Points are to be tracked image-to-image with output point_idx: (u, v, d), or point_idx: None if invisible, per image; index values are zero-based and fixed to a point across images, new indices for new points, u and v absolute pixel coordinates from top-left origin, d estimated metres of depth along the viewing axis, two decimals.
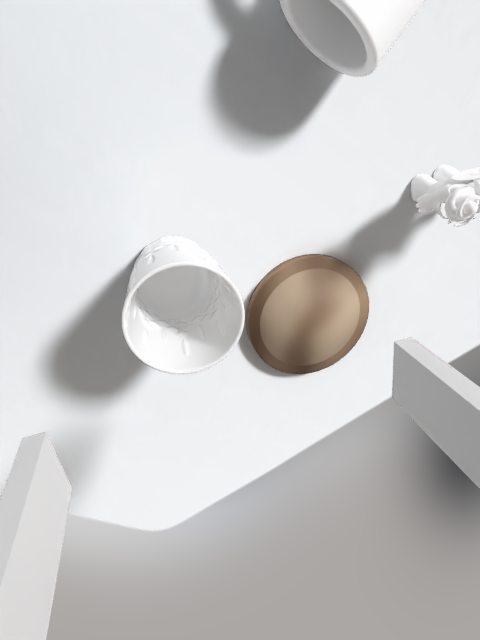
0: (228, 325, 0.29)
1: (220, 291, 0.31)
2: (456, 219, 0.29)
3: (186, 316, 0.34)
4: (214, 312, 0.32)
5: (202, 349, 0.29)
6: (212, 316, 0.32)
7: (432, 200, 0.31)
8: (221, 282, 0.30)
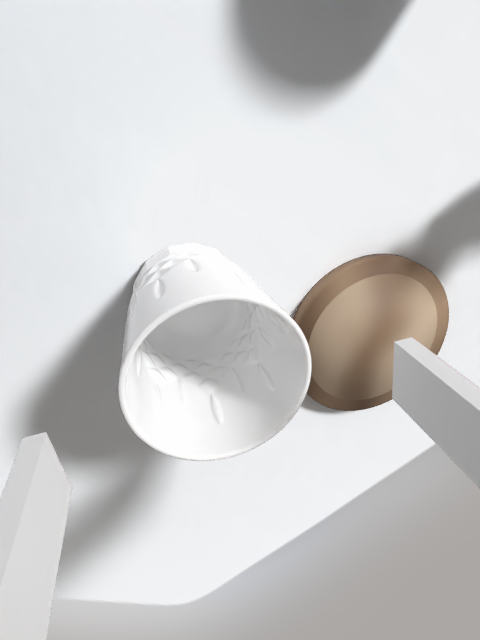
0: (280, 376, 0.19)
1: (260, 320, 0.22)
2: None
3: (209, 354, 0.24)
4: (252, 351, 0.22)
5: (242, 413, 0.20)
6: (250, 357, 0.22)
7: None
8: (263, 309, 0.20)
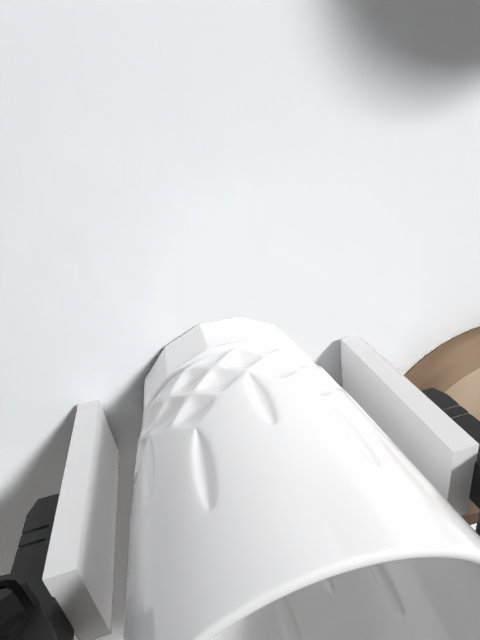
0: (416, 592, 0.10)
1: None
2: None
3: None
4: None
5: None
6: None
7: None
8: None
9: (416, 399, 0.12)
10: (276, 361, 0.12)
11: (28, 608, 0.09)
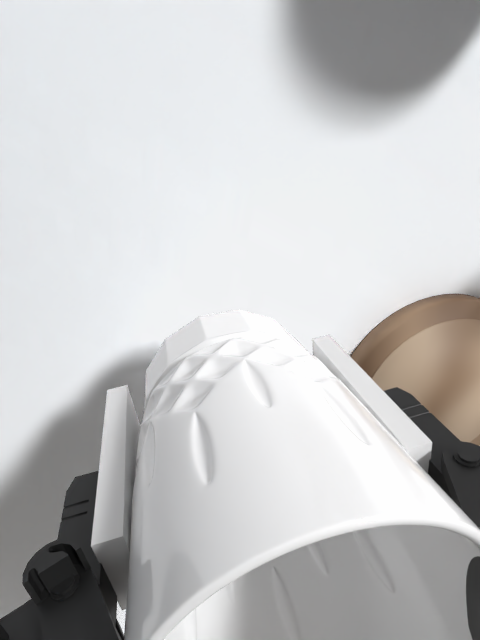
0: (406, 571, 0.11)
1: None
2: None
3: None
4: None
5: (335, 627, 0.11)
6: None
7: None
8: None
9: (377, 398, 0.13)
10: (272, 350, 0.12)
11: (81, 572, 0.09)
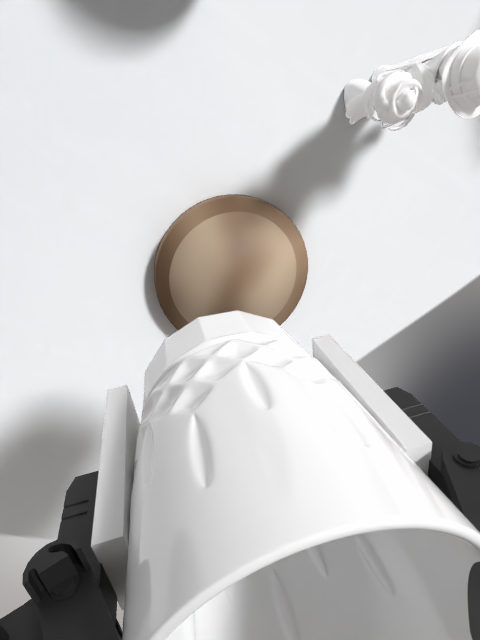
0: (406, 574, 0.11)
1: None
2: (391, 120, 0.22)
3: None
4: None
5: (334, 629, 0.11)
6: None
7: (363, 102, 0.24)
8: None
9: (377, 398, 0.13)
10: (272, 352, 0.12)
11: (81, 572, 0.09)
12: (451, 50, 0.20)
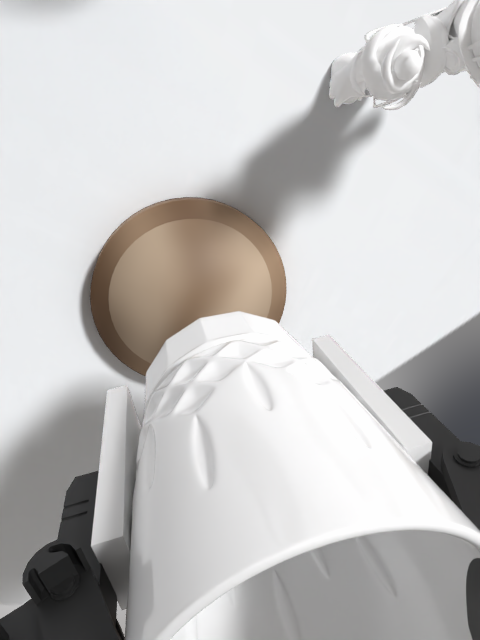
0: (408, 575, 0.11)
1: None
2: (386, 94, 0.16)
3: None
4: None
5: (336, 631, 0.11)
6: None
7: (350, 75, 0.18)
8: None
9: (377, 398, 0.13)
10: (273, 353, 0.12)
11: (81, 572, 0.09)
12: None
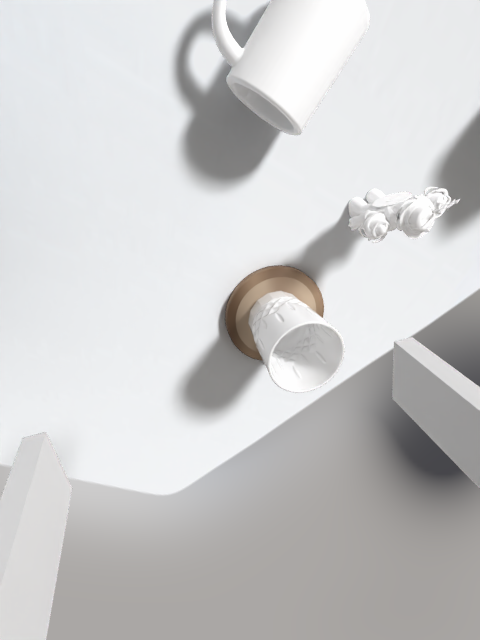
0: (328, 356, 0.42)
1: (316, 330, 0.44)
2: (373, 237, 0.39)
3: (287, 347, 0.47)
4: (312, 345, 0.45)
5: (310, 374, 0.42)
6: (311, 348, 0.45)
7: (358, 222, 0.41)
8: (319, 325, 0.43)
9: None
10: (293, 300, 0.43)
11: None
12: (405, 205, 0.37)
